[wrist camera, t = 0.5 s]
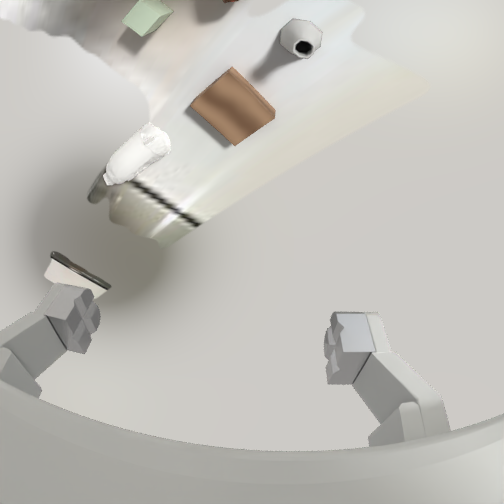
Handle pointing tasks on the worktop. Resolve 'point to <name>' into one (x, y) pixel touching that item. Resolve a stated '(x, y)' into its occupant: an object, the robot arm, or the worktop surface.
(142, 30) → the sage block
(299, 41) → the flask
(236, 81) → the brown block
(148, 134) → the white plastic bottle
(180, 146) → the worktop surface
